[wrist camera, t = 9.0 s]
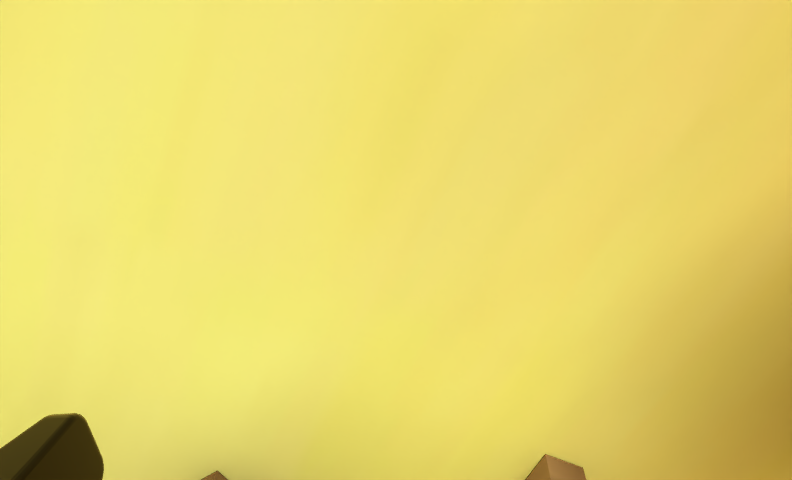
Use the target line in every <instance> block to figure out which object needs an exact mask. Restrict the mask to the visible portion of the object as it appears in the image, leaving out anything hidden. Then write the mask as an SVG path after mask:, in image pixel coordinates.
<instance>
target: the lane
mask: <svg viewBox="0 0 792 480" xmlns="http://www.w3.org/2000/svg"><path fill="white" fill-rule="evenodd" d="M201 480H227V479H226V478H225V477H224V476H223V475H222V474H220V473H219V472H218V471H216V472H214V473H212V474H211V475H209V476H207V477H205V478H203V479H201ZM526 480H586V478H585V474H584V470H583V468H582V467H579V466H576V465H574V464H571V463H568V462H565V461H563V460H560V459H557V458H554V457H552V456H549V455H546V454H545V456H544V457H543V458H542V459H541V461H540V462H539V463H538V465H537V466H536V467H535V468H534V470H533V471H532V472H531V474H530V475H529V476H528V477H527V479H526Z"/></svg>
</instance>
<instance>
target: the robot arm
mask: <svg viewBox="0 0 792 480" xmlns="http://www.w3.org/2000/svg"><path fill="white" fill-rule="evenodd" d="M103 471H104V464H103V459H102V456H101V453H100V451H99V449H98V446H97V444H96V442H95V440H94V437H93V435H92V433H91V430H90V428H89V426H88V423H87V421H86V419H85V418H84V417H83V416H82V415H80V414H76V413H71V414H54V415H49V416H46V417H44V418H43V419H41V420H40V421H39V422H37V423H36V424H34V425H33V426H31V427H30V428H29V429H27V430H26V431H24V432H23V433H22V434H20V435H19V436H17V437H16V438H15V439H13V440H12V441H10V442H9V443H7V444H6V445H5V446H3V447H2V448H0V480H102V478H103Z"/></svg>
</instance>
